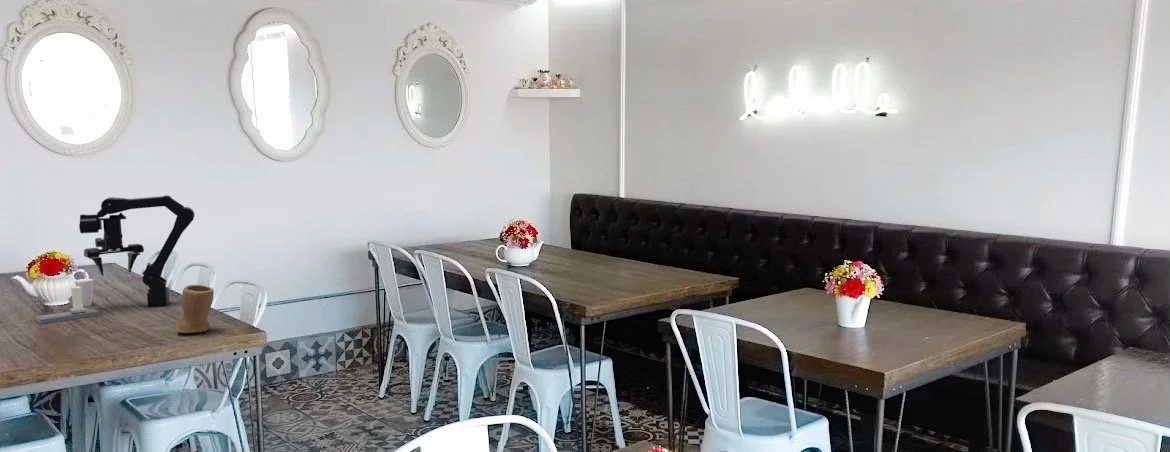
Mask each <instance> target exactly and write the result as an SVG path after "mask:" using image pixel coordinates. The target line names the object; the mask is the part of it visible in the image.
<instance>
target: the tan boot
mask: <svg viewBox="0 0 1170 452" xmlns="http://www.w3.org/2000/svg"><path fill="white" fill-rule="evenodd" d="M214 292H215V291H214V288H212V287H211V286H207V285H201V284H189V285H186V286H185V287H184V288H183V289H182V293H181V294H182V295H181V307H182V311H183V316H184V317H181V318H179V319H177V320H176V323H175V329H176V331H177V332H178V333H181V334H194V333H196V332H197V333H203V332H206V331H208V330H209V328H210V323H209V321H208V316H209V312H210V310H211V307H212V304H213V302H214ZM202 331H203V332H202Z"/></svg>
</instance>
